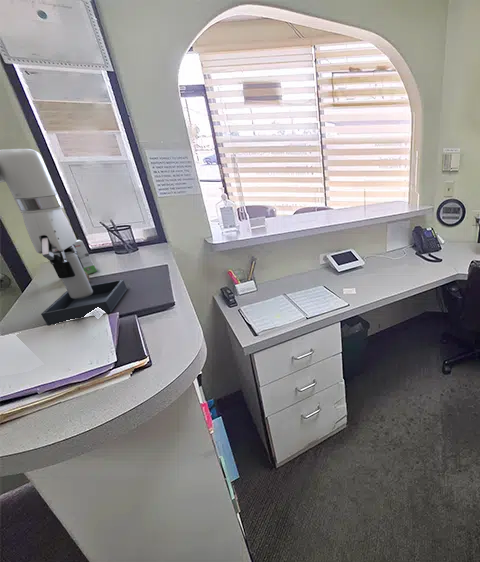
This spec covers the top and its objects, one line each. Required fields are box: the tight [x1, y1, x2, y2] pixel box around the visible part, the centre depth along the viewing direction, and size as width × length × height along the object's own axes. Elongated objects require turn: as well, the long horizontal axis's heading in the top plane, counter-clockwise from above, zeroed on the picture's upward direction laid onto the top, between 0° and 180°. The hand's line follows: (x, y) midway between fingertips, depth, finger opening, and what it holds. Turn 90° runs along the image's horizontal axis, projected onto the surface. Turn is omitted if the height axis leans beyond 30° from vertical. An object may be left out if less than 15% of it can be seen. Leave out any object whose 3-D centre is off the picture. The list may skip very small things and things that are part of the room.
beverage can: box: [56, 252, 93, 299], centre depth 82 cm, size 5×5×12 cm
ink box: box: [52, 239, 98, 275], centre depth 107 cm, size 9×5×12 cm, turn 141°
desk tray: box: [40, 279, 128, 326], centre depth 86 cm, size 13×16×3 cm
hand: (72, 272), depth 82 cm, fingers closed on beverage can, 4 cm apart
